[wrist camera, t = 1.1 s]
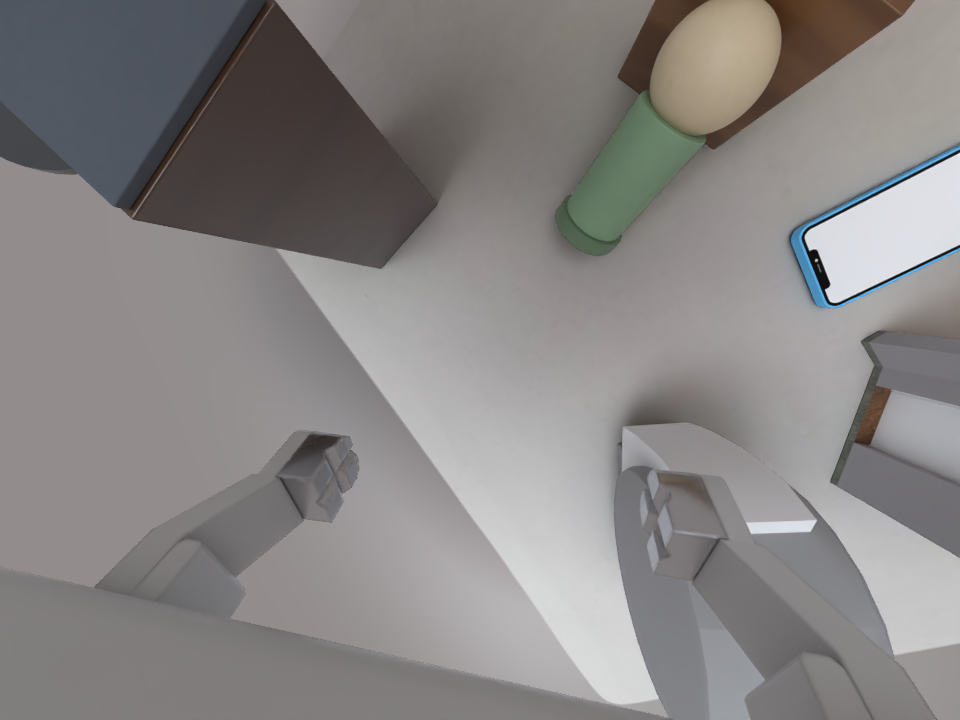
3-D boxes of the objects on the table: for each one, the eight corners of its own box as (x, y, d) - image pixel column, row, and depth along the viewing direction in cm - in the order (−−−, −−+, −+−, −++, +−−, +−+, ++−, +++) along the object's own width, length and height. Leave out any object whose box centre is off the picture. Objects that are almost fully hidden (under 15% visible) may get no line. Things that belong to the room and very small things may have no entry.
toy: (592, 272, 31) (654, 252, 18) (538, 233, 31) (562, 185, 18) (691, 138, 29) (845, 5, 16) (634, 95, 28) (741, -76, 15)
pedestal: (318, 207, 32) (-72, 30, 11) (373, 138, 31) (48, -235, 9) (380, 269, 33) (131, 220, 11) (437, 204, 31) (276, 2, 10)
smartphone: (1022, 220, 27) (828, 312, 29) (1001, 223, 28) (815, 312, 30) (994, 129, 26) (795, 231, 28) (973, 136, 27) (783, 233, 29)
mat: (-64, 29, 11) (-91, 16, 10) (51, -221, 9) (25, -251, 9) (130, 211, 11) (112, 207, 11) (267, 2, 10) (254, -13, 9)
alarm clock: (689, 567, 36) (913, 906, 16) (606, 569, 37) (719, 893, 17) (690, 402, 33) (971, 571, 13) (598, 409, 33) (727, 575, 14)
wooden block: (713, 150, 28) (902, 16, 15) (617, 77, 28) (719, -130, 14) (739, 116, 28) (961, -57, 14) (641, 41, 28) (772, -210, 14)
